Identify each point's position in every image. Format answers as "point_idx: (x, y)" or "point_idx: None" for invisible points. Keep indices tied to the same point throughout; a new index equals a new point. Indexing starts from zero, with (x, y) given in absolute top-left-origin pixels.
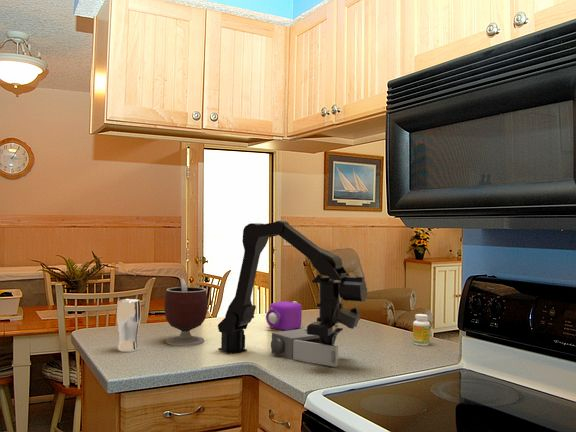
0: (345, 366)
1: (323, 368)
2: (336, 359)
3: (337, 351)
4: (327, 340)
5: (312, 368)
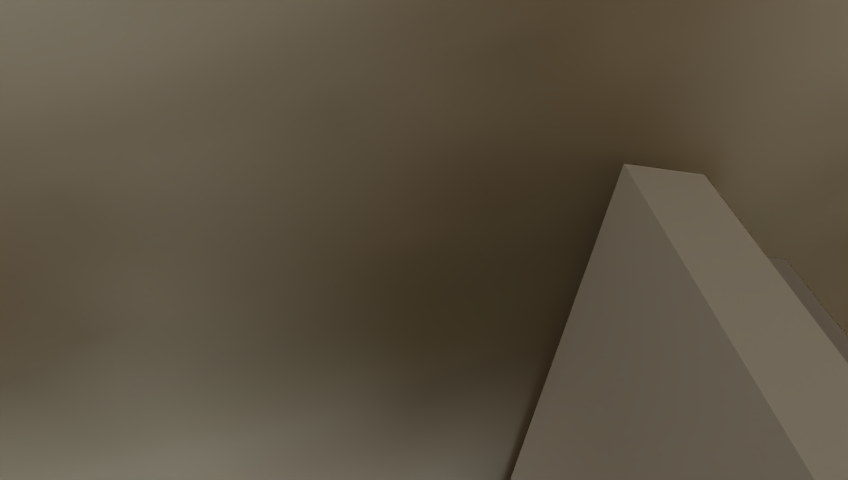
0: (427, 20)
1: None
2: (755, 267)
3: (803, 427)
4: None
5: None
